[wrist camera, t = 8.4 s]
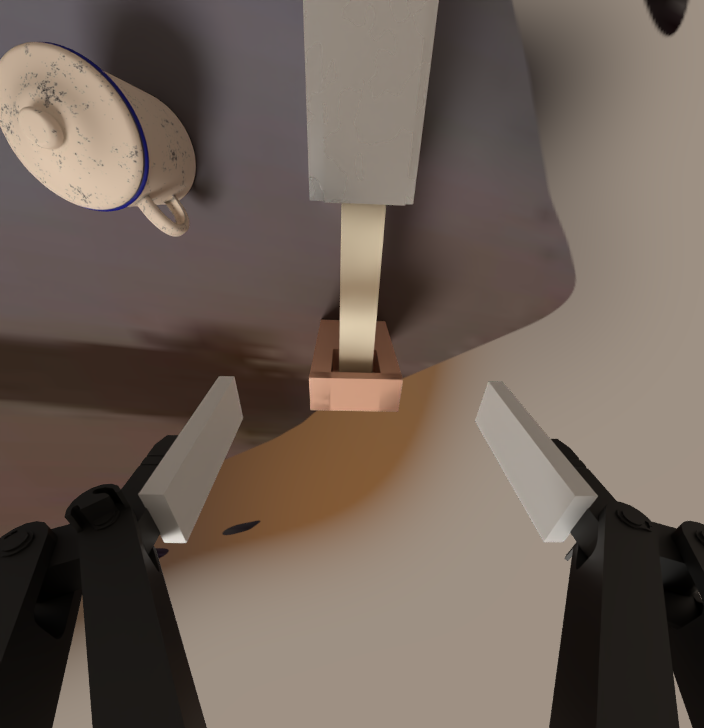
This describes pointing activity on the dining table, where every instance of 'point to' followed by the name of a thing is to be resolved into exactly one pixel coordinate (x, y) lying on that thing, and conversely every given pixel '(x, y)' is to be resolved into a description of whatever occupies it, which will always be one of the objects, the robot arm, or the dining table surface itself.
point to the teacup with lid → (94, 134)
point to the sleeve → (366, 97)
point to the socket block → (354, 375)
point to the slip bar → (359, 284)
